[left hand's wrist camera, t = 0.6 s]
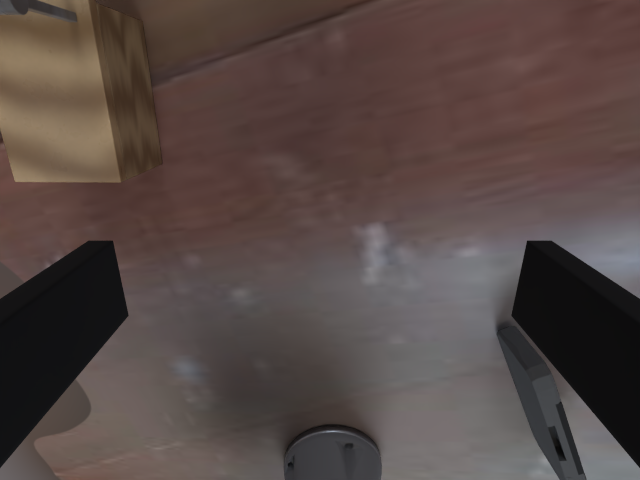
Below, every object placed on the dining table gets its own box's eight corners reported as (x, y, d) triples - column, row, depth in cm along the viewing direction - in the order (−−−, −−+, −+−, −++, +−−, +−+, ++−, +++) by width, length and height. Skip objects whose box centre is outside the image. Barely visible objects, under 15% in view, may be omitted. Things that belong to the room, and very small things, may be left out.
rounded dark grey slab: (552, 434, 60) (595, 498, 50) (535, 440, 60) (574, 504, 51) (512, 318, 52) (554, 368, 43) (492, 326, 53) (530, 377, 43)
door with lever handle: (-28, -12, 31) (-150, -49, 23) (93, -12, 31) (14, -48, 23) (24, 179, 37) (-61, 204, 29) (127, 179, 37) (72, 204, 29)
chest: (47, 20, 40) (-24, 2, 32) (142, 21, 40) (96, 2, 32) (78, 163, 45) (24, 179, 37) (162, 163, 45) (127, 179, 37)
